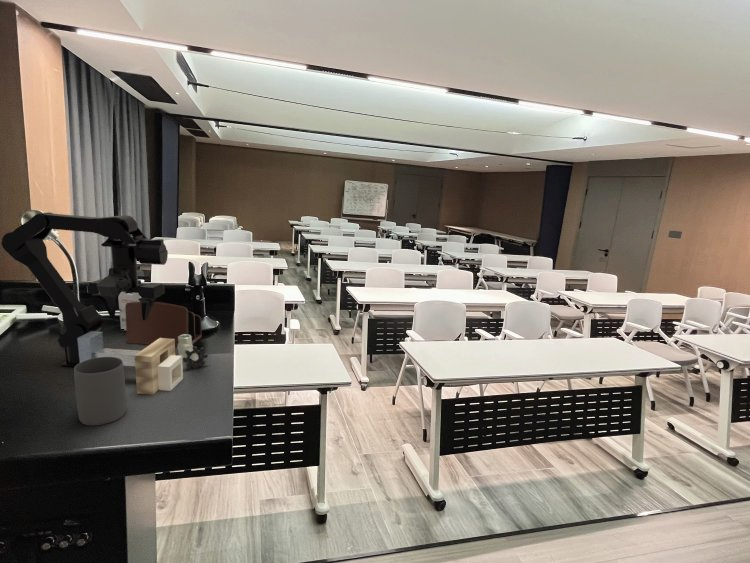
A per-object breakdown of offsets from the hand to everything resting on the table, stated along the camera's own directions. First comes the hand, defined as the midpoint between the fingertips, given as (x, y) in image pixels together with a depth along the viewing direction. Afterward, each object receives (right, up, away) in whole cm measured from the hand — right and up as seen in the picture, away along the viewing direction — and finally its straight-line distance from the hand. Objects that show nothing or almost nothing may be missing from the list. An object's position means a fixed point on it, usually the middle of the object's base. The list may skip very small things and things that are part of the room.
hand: (128, 318), depth 119 cm
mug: (+6, -19, -21) cm, 29 cm away
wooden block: (+12, -16, -7) cm, 21 cm away
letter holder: (0, -9, +21) cm, 23 cm away
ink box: (-14, -6, +29) cm, 33 cm away
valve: (+14, -13, +7) cm, 20 cm away
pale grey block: (+2, -12, -8) cm, 15 cm away
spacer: (+15, -16, -7) cm, 23 cm away
